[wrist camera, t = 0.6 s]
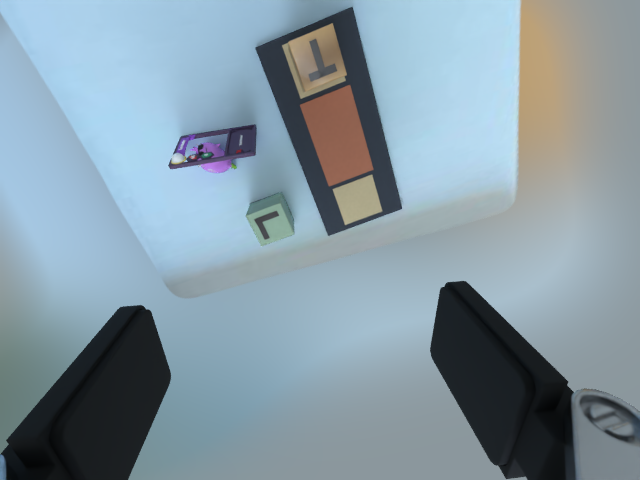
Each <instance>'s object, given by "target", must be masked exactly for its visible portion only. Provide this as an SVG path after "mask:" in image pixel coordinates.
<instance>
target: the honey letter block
mask: <svg viewBox="0 0 640 480" xmlns="http://www.w3.org/2000/svg"><path fill="white" fill-rule="evenodd" d="M288 50H289V53H290V56H291V59H292V61H293V64H294V67H295V70H296V73H297V76H298V79H299V82H300V85H301V87H302V90H303V92H306V91H309V90H311V89H314V88H316V87H319V86H321V85H324V84H326V83H329V82H331V81H334V80H336V79H338V78H341V77H343V76H346V75H347V73H346V69H345V66H344V62H343V59H342V55H341V51H340V48H339V44H338V41H337V37H336V33H335V30H334V26H333V23H332V24H329V25H327V26H324V27H322V28H320V29H317V30H315V31H313V32H310V33H308V34H305V35H303V36H301V37H298V38H296V39H294V40H291V41H289V42H288Z"/></svg>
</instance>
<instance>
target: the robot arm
mask: <svg viewBox="0 0 640 480" xmlns="http://www.w3.org/2000/svg"><path fill="white" fill-rule="evenodd" d="M430 352H431V356H432V359H433V361H434V363H435V364H436V366H437V368H438V369H439V371H440V373H441V375H442V377H443V378H444V380H445V382H446V384H447V386H448V387H449V389H450V391H451V393H452V394H453V396H454V398H455V399H456V401H457V403H458V405H459V407H460V408H461V410H462V412H463V413H464V415H465V417H466V419H467V421H468V422H469V424H470V426H471V428H472V429H473V431H474V433H475V435H476V436H477V438H478V440H479V442H480V444H481V445H482V447H483V448H484V450H485V452H486V454H487V456H488V458H489V459H490V461H491V462H492V463H493V464H494V465H498V466H499V467H500V469H501V471H502V473H503V474H504V476H505V478H506V479H510V478H518V477H525V476H526V477H527V479H528V480H640V411H638V410H637V409H636V408H635V407H633V406H632V405H630V404H628V403H627V402H625V401H623V400H622V399H620V398H618V397H615V396H613V395H611V394H609V393H606V392H602V391H599V390H595V389H581V390H577V391H576V392H573V391H572V390H571V389H570V388H569V387H568V386H567V384H568V381H567V380H566V379H565V378H564V377H563V376H562V375H561V374H560V373H559V372H558V371H557V370H556V369H555V368H554V367H553V366H552V365H551V364H550V363H549V362H548V361H546V359H545V358H544V357H543V356H542V355H540V353H539V352H537V350H536V349H534V348H533V347H532V346H531V345H530V344H529V343H528V342H527V341H526V340H525V339H524V338H523V337H522V336H521V335H520V334H519V333H518V332H517V331H516V330H515V329H514V328H513V327H512V326H511V325H510V324H509V323H508V322H507V321H506V320H505V319H504V318H503V317H502V316H501V315H500V314H499V313H498V312H497V311H496V310H495V309H494V308H493V307H492V306H491V305H489V304H488V302H487V301H486V300H485V299H484V298H483V297H482V296H481V295H480V294H478V293H477V292H476V291H475V290H474V289H473V288H472V287H471V286H470V285H469V284H468V283H467V282H466V281H459V282H448V283H446V284H445V287H442V288H441V289H440V294H439V299H438V306H437V311H436V317H435V323H434V329H433V336H432V341H431V348H430ZM170 379H171V373H170V369H169V366H168V363H167V360H166V357H165V354H164V350H163V347H162V344H161V341H160V338H159V335H158V332H157V328H156V325H155V322H154V319H153V316H152V313H151V311H150V310H146V309H145V307H144V306H142V305H138V306H126V307H120V308H119V309H118V310H117V311H116V312H115V313H114V315H113V316H112V317H111V318H110V319H109V320H108V322H107V323H106V324H105V325H104V326H103V328H102V329H101V330H100V331H99V332H98V333H97V335H96V336H95V337H94V338H93V339H92V340H91V342H90V343H89V344H88V345H87V346H86V348H85V349H84V350H83V351H82V352H81V353H80V354H79V356H78V357H77V358H76V359H75V360H74V362H73V363H72V364H71V365H70V366H69V367H68V369H67V370H66V371H65V372H64V373H63V374H62V376H61V377H60V378H59V379H58V380H57V381H56V383H55V384H54V385H53V386H52V387H51V388H50V390H49V391H48V392H47V393H46V394H45V396H44V397H43V398H42V399H41V400H40V401H39V403H38V404H37V405H36V406H35V407H34V408H33V410H32V411H31V412H30V413H29V414H28V415H27V417H26V418H25V419H24V420H23V421H22V423H21V424H20V425H19V426H18V427H17V428H16V430H15V431H14V432H13V433H12V434H11V436H10V437H9V438H8V439H7V440H6V441H7V442H8V443H9V445H8V446H7V447H6V448H5V450H4V451H3V452H2V453H1V454H0V480H128V478H129V476H130V474H131V471H132V469H133V467H134V464H135V462H136V460H137V457H138V455H139V453H140V451H141V448H142V446H143V444H144V441H145V439H146V437H147V435H148V432H149V430H150V428H151V425H152V423H153V421H154V418H155V416H156V414H157V412H158V409H159V407H160V404H161V402H162V400H163V398H164V395H165V393H166V391H167V389H168V386H169V384H170Z"/></svg>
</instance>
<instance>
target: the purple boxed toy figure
mask: <svg viewBox="0 0 640 480" xmlns="http://www.w3.org/2000/svg"><path fill="white" fill-rule="evenodd" d="M256 129H257V128H256V125H248V126H242V127H236V128H230V129H223V130H217V131H211V132H205V133H199V134H192V135H186V136H181V137H180V139H179V142H178V144H177V146H176V149H175V151H174V153H173V156H172V158H171V160H170V163H169V165H168V166H169V167H170V169H176V168H182V167H188V166H194V165H199V166H201V167H202V168H203V169H204V170H206V171H209V172H213V173H221V172H225V171H227V170H228V169H229V168H230V167H232V168H233V169H236V168H237V167H236V166H235V165H234V164H233V163H231V159H237V158H243V157H249V156H254V155H255V154H256ZM227 133H228V137H227V143H226V148H225V151H224V150H222V149H221V148H219V146H220V144H213V143H209V142H206V143H203V144H202V143H200V145H197V144H196V145H197V146H198V148H196V147H193V148H194V149H190V151H196V154H194V155H190V156H189V157H188V158H186V157H185V150H186V146H187V144H188V141H189V140H193V139H196V138H202V137H208V136H214V135H220V134H227ZM185 160H187V161H188V162H184V161H185ZM183 162H184V163H183ZM199 166H198V167H199Z"/></svg>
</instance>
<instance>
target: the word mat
mask: <svg viewBox="0 0 640 480" xmlns="http://www.w3.org/2000/svg"><path fill="white" fill-rule="evenodd" d="M332 23H333V26H334V30H335V33H336V37H337V41H338V44H339V48H340V51H341V55H342V59H343V62H344V66H345V69H346V73H347V75H346V76H343V77H341V78H338V79H336V80H334V81H331V82H329V83H326V84H324V85H321V86H319V87H316V88H314V89H311V90H309V91H306V92H303V90H302V87H301V85H300V82H299V79H298V76H297V73H296V70H295V67H294V64H293V61H292V59H291V56H290V53H289V50H288V42H289V41H291V40H294V39H296V38H298V37H301V36H303V35H305V34H308V33H310V32H313V31H315V30H317V29H320V28H322V27H324V26H327V25H329V24H332ZM256 50H257V53H258V56H259V58H260V61H261V63H262V66H263V68H264V71H265V74H266V76H267V79H268V81H269V84H270V86H271V89H272V92H273V94H274V97H275V99H276V102H277V105H278V107H279V110H280V112H281V115H282V117H283V120H284V123H285V125H286V128H287V130H288V133H289V135H290V138H291V141H292V143H293V146H294V148H295V151H296V153H297V156H298V159H299V161H300V164H301V166H302V169H303V171H304V174H305V177H306V179H307V182H308V184H309V187H310V190H311V192H312V195H313V197H314V200H315V202H316V205H317V208H318V210H319V213H320V215H321V218H322V220H323V223H324V226H325V228H326V231H327V233H328V236H329V235H332V234H335V233H337V232H340V231H343V230H346V229H348V228H351V227H354V226H356V225H359V224H362V223H365V222H367V221H370V220H373V219H376V218H378V217H381V216H384V215H386V214H389V213H392V212H395V211H397V210H400V209H402V206H401V202H400V198H399V194H398V190H397V186H396V182H395V178H394V174H393V170H392V166H391V162H390V158H389V154H388V149H387V145H386V141H385V137H384V133H383V129H382V125H381V121H380V117H379V113H378V109H377V105H376V101H375V97H374V93H373V89H372V85H371V81H370V77H369V72H368V68H367V64H366V60H365V56H364V52H363V48H362V44H361V40H360V36H359V32H358V28H357V24H356V20H355V16H354V12H353V8H352V7H351V8H349V9H346V10H344V11H341V12H339V13H337V14H334V15H332V16H330V17H327V18H325V19H323V20H320V21H318V22H315V23H313V24H311V25H308V26H306V27H304V28H301V29H299V30H297V31H294V32H292V33H289V34H287V35H285V36H282V37H280V38H278V39H275V40H273V41H270V42H268V43H266V44H263V45H261V46H259V47H256Z"/></svg>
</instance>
